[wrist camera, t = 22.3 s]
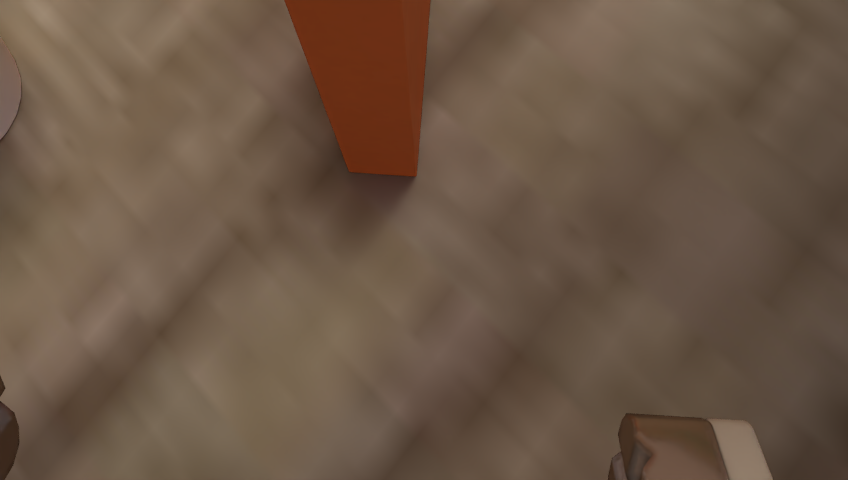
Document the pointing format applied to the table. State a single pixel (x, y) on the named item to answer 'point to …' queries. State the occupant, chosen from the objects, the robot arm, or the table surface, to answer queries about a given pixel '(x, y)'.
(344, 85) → the book
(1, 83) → the flower pot
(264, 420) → the table surface
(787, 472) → the table surface
